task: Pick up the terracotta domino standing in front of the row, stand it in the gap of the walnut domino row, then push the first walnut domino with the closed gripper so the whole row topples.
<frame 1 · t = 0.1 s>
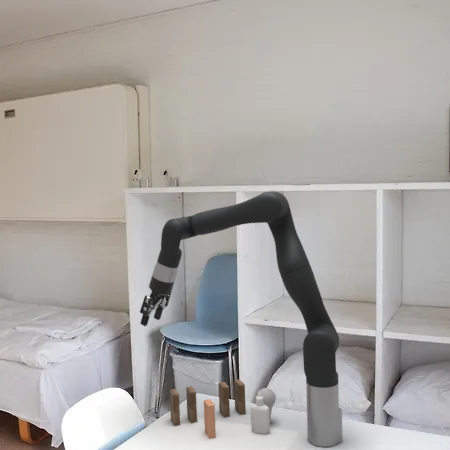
hand: (150, 321, 176), 31 cm above the table, tool tilted 20°, fingers open, 8 cm apart
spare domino: (210, 434, 162), on the table
domino 1: (240, 411, 178), on the table
eye dropper bottle: (260, 431, 163), on the table
domino 2: (224, 414, 176), on the table
lightbulb: (266, 423, 169), on the table
domino 5: (175, 422, 171), on the table
domino 4: (192, 419, 173), on the table
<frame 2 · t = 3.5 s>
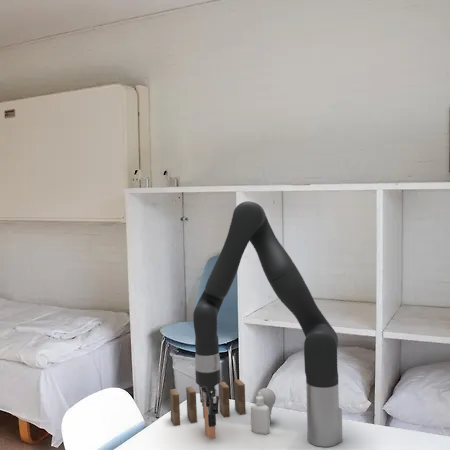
hand: (209, 422, 162), 4 cm above the table, tool pointing down, fingers closed on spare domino, 5 cm apart
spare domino: (210, 434, 162), on the table, touching gripper
everything else where it was.
when the fingers open (5 cm above the table, at t = 10.1 s): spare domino stays where it is, on the table.
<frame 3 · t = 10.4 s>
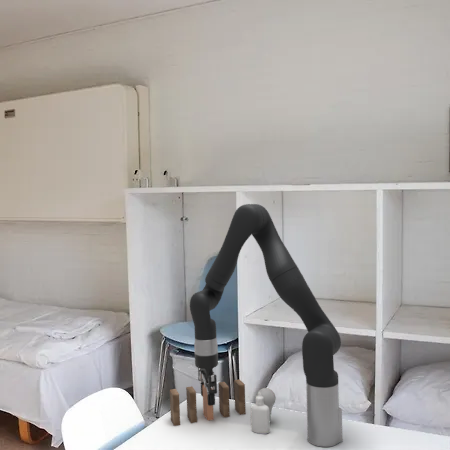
hand: (207, 400, 174), 6 cm above the table, tool pointing down, fingers open, 8 cm apart
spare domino: (208, 417, 175), on the table
everything else where it was.
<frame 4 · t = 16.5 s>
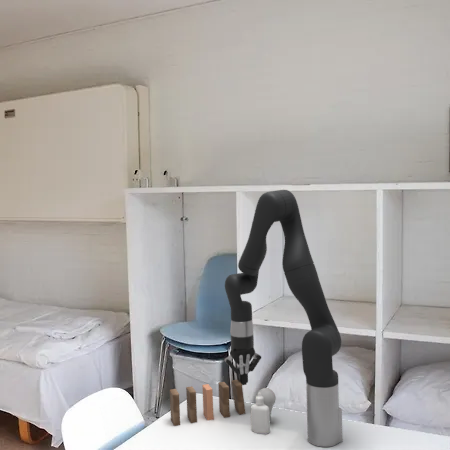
hand: (243, 384, 178), 9 cm above the table, tool pointing down, fingers closed
domino 1: (240, 411, 178), on the table, tilted 5°
everything else where it was.
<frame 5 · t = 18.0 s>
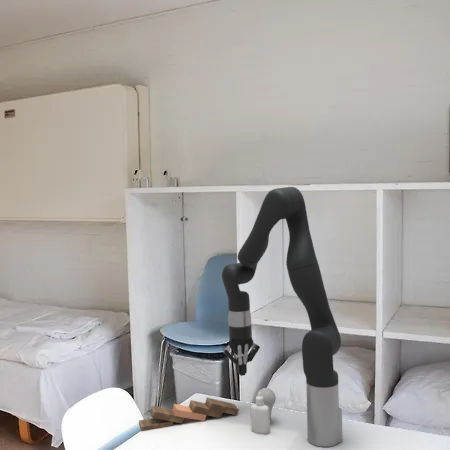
hand: (242, 374, 177), 12 cm above the table, tool pointing down, fingers closed
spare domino: (203, 415, 174), point 1 cm above the table, tilted 71°, touching domino 2, domino 4
domino 1: (235, 409, 177), point 1 cm above the table, tilted 69°, touching domino 2
domino 2: (219, 412, 176), point 1 cm above the table, tilted 69°, touching domino 1, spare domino
domino 5: (171, 421, 171), on the table, tilted 90°, touching domino 4
domino 4: (181, 417, 172), point 1 cm above the table, tilted 71°, touching domino 5, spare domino
everything else where it was.
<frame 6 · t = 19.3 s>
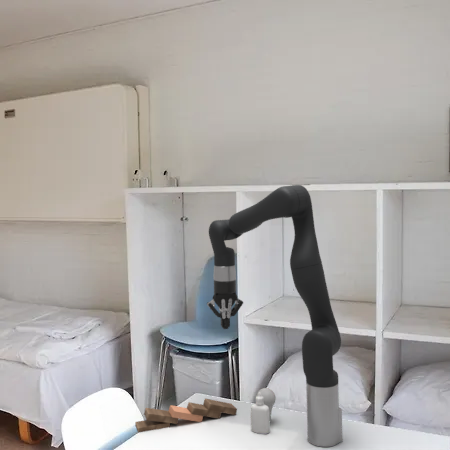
hand: (225, 328, 183), 27 cm above the table, tool pointing down, fingers closed
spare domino: (199, 416, 173), point 1 cm above the table, tilted 70°, touching domino 4
domino 1: (233, 409, 178), point 1 cm above the table, tilted 70°, touching domino 2
domino 2: (217, 412, 175), point 1 cm above the table, tilted 71°, touching domino 1
domino 5: (168, 422, 170), on the table, tilted 90°
domino 4: (176, 417, 171), point 2 cm above the table, tilted 74°, touching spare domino
everything else where it was.
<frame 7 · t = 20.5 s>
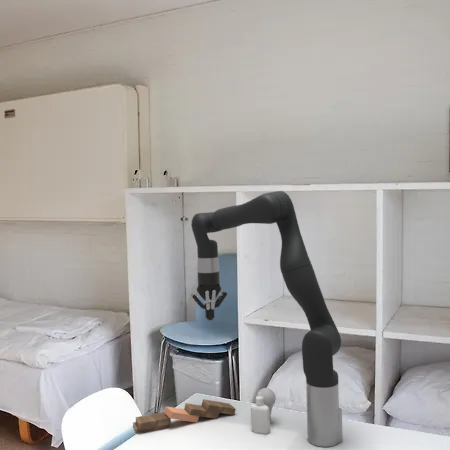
hand: (210, 319, 186), 29 cm above the table, tool pointing down, fingers closed
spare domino: (194, 416, 173), point 1 cm above the table, tilted 68°, touching domino 2
domino 1: (232, 409, 178), point 1 cm above the table, tilted 71°, touching domino 2
domino 2: (215, 412, 175), point 1 cm above the table, tilted 71°, touching domino 1, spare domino
domino 5: (165, 423, 170), on the table, tilted 90°, touching domino 4
domino 4: (168, 417, 169), point 2 cm above the table, tilted 90°, touching domino 5
everything else where it was.
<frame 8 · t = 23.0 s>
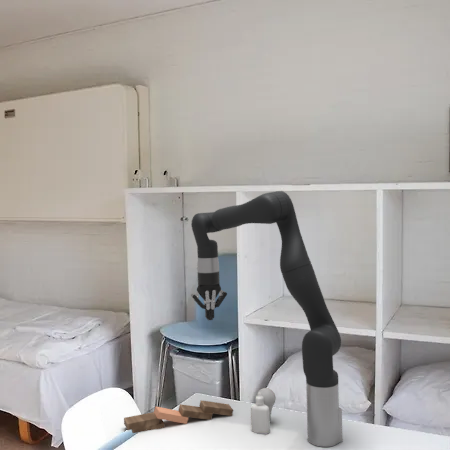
hand: (210, 319, 186), 29 cm above the table, tool pointing down, fingers closed
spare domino: (185, 417, 172), point 1 cm above the table, tilted 69°, touching domino 2, domino 4
domino 1: (230, 410, 177), point 1 cm above the table, tilted 74°
domino 2: (209, 413, 175), point 1 cm above the table, tilted 74°, touching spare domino
domino 5: (162, 423, 170), on the table, tilted 90°, touching domino 4
domino 4: (157, 417, 170), point 2 cm above the table, tilted 90°, touching domino 5, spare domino
everything else where it was.
at the end: domino 5 tilted 90°; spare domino inside the target area (3.0 cm from its centre), point 0.9 cm above the table; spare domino tilted 69° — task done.
